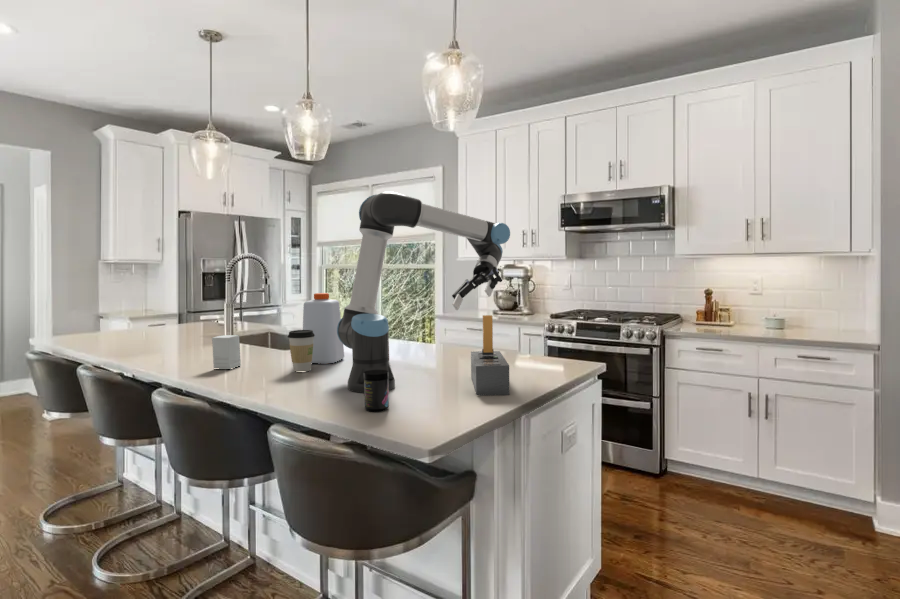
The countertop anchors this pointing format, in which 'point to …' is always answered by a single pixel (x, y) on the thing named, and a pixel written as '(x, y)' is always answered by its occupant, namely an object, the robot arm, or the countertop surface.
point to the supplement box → (226, 351)
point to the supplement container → (376, 390)
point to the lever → (487, 335)
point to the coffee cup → (301, 349)
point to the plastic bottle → (323, 328)
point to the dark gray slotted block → (489, 373)
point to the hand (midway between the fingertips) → (471, 300)
